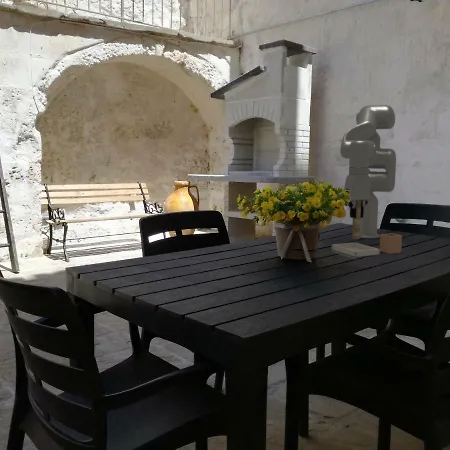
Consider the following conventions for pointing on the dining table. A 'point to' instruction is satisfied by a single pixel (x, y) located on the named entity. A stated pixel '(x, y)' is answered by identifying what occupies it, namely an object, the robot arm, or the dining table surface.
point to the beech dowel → (356, 221)
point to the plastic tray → (354, 249)
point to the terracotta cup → (390, 243)
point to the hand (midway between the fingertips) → (356, 217)
